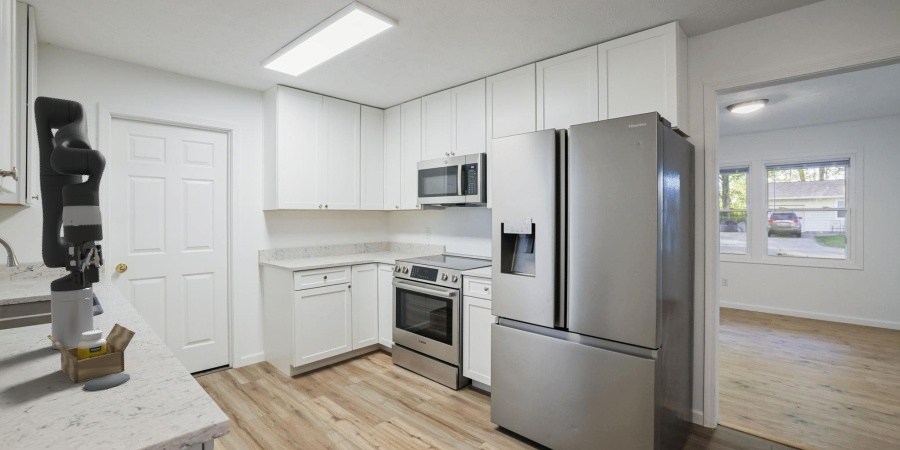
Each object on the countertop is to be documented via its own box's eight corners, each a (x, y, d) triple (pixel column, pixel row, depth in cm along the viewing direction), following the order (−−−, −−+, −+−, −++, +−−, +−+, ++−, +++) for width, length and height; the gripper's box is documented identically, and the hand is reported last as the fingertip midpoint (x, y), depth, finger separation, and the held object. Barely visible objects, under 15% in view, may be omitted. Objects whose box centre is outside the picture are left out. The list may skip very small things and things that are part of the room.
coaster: (80, 384, 91) (80, 381, 91) (123, 373, 98) (123, 370, 98) (90, 393, 87) (89, 390, 87) (134, 381, 93) (134, 378, 93)
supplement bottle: (89, 375, 97) (88, 336, 96) (72, 373, 98) (71, 334, 97) (112, 366, 102) (111, 329, 102) (95, 365, 103) (94, 328, 103)
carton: (47, 372, 98) (46, 335, 98) (119, 356, 110) (118, 322, 109) (60, 387, 90) (59, 346, 90) (136, 367, 101) (135, 331, 101)
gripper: (77, 224, 108) (81, 283, 108) (49, 224, 95) (53, 290, 95) (111, 223, 111) (115, 280, 111) (88, 222, 98) (92, 286, 98)
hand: (86, 284), depth 103 cm, fingers open, 8 cm apart
